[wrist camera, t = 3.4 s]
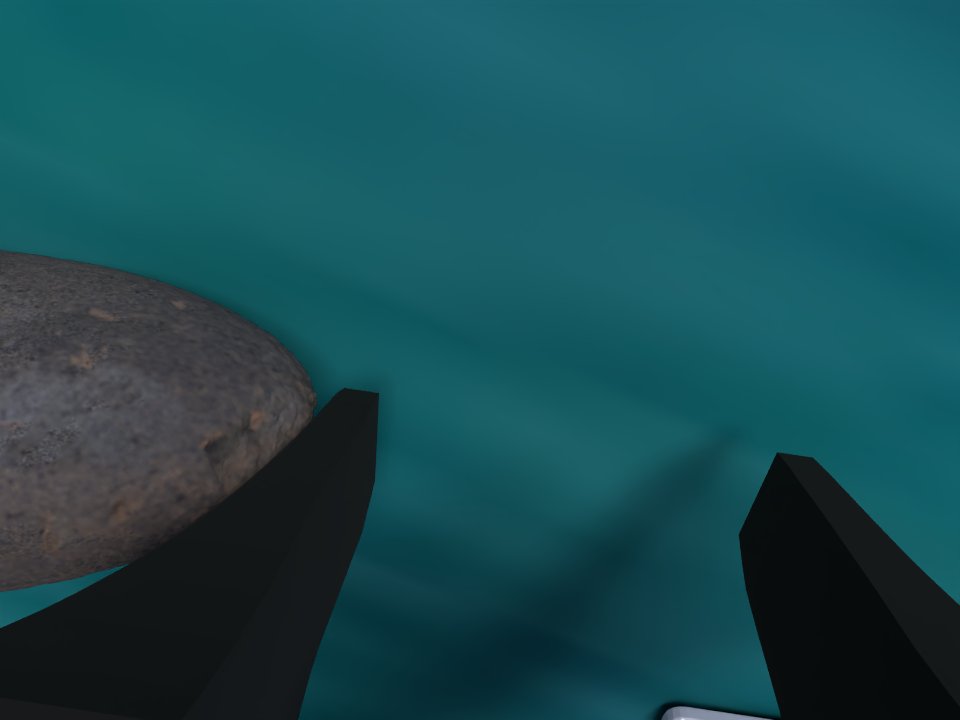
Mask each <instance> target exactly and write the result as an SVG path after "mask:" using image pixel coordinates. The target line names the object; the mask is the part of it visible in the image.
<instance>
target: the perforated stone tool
mask: <svg viewBox="0 0 960 720" xmlns="http://www.w3.org/2000/svg"><path fill="white" fill-rule="evenodd" d="M316 406H317V399H316V393H315V392H314V391H313V387H312V384H311V382H310V378H309V376H308V374H307V372H306V370H305V369H304V368H303V366H302V365H301V363H300V362H299V361H297V359H296V357H295V356H294V355H293V354H292V353H291V352H290V351H289V350H288V349H286V348H285V347H284V346H283V345H282V344H281V343H280V342H279V341H278V340H277V339H276V338H275V337H274V336H272V335H271V334H270V333H268V332H266V331H264V330H262V329H260V328H259V327H258V326H256V325H255V324H253V323H252V322H250V321H248V320H246V319H244V318H242V317H241V316H239V315H238V314H236V313H235V312H233V311H231V310H230V309H227V308H225V307H223V306H221V305H219V304H217V303H214V302H212V301H210V300H208V299H205V298H202V297H200V296H198V295H196V294H193V293H191V292H188V291H186V290H184V289H181V288H177V287H173V286H171V285H169V284H166V283H161V282H159V281H157V280H153V279H149V278H145V277H142V276H139V275H135V274H132V273H128V272H125V271H121V270H117V269H112V268H108V267H104V266H100V265H94V264H88V263H83V262H77V261H70V260H63V259H56V258H52V257H47V256H40V255H33V254H26V253H18V252H9V251H1V250H0V592H4V591H12V590H19V589H25V588H29V587H33V586H37V585H42V584H47V583H48V584H51V583H56V582H61V581H65V580H72V579H75V578H79V577H83V576H85V575H88V574H92V573H95V572H98V571H105V570H109V569H112V568H115V567H118V566H123V565H126V564H129V563H132V562H133V561H135V560H137V559H138V558H140V557H142V556H143V555H145V554H147V553H148V552H150V551H151V550H153V549H154V548H156V547H158V546H159V545H161V544H162V543H164V542H165V541H167V540H168V539H170V538H171V537H173V536H175V535H176V534H178V533H179V532H181V531H182V530H184V529H185V528H186V527H188V526H189V525H191V524H192V523H194V522H195V521H196V520H198V519H199V518H201V517H202V516H203V515H205V514H206V513H207V512H209V511H210V510H211V509H213V508H214V507H216V506H217V505H218V504H219V503H221V502H222V501H223V500H225V499H226V498H227V497H228V496H230V495H231V494H232V493H233V492H235V491H236V490H237V489H238V488H239V487H240V486H242V485H243V484H244V483H245V482H246V481H248V480H249V479H250V478H251V477H252V476H253V475H255V474H256V473H257V472H258V471H259V470H261V469H262V468H263V467H264V466H265V465H266V464H267V463H269V462H270V461H271V460H272V459H273V458H274V457H275V456H276V455H277V454H278V453H279V452H280V451H281V450H282V449H283V448H284V447H286V446H287V445H288V444H289V443H290V442H291V441H292V440H293V439H294V438H295V437H296V436H297V435H298V434H299V433H300V432H301V431H302V430H303V429H304V428H305V427H306V426H307V425H308V424H309V423H310V422H311V421H312V418H313V412H314V408H316Z"/></svg>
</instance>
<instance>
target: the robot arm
mask: <svg viewBox="0 0 960 720" xmlns="http://www.w3.org/2000/svg"><path fill="white" fill-rule="evenodd" d="M378 402H379V393H374V392H367V391H360V390H353V389H347V388H344V389H342V390H341V391H339V392H338V393H337V394H336V395H335V396H334V397H333V398H332V399H331V400H330V402H329V403H328V404H327V405H326V406H325V407H324V408H323V409H322V410H321V411H320V412H319V414H318V415H317V416H316V417H315V418H314V419H313V420H312V421H311V422H310V423H309V424H308V425H307V426H306V427H305V428H304V429H303V430H302V431H301V432H300V433H299V434H298V435H297V436H296V437H295V438H294V439H293V440H292V441H291V442H290V443H289V444H288V445H287V446H286V447H284V448H283V449H282V450H281V451H280V452H279V453H278V454H277V455H276V456H275V457H274V458H273V459H272V460H271V461H270V462H269V463H267V464H266V465H265V466H264V467H263V468H262V469H261V470H259V471H258V472H257V473H256V474H255V475H253V476H252V477H251V478H250V479H249V480H248V481H246V482H245V483H244V484H243V485H242V486H240V487H239V488H238V489H237V490H236V491H235V492H233V493H232V494H231V495H230V496H228V497H227V498H226V499H225V500H223V501H222V502H221V503H219V504H218V505H217V506H216V507H214V508H213V509H211V510H210V511H209V512H207V513H206V514H205V515H203V516H202V517H201V518H199V519H198V520H196V521H195V522H194V523H192V524H191V525H189V526H188V527H186V528H185V529H184V530H182V531H181V532H179V533H178V534H176V535H175V536H173V537H171V538H170V539H168V540H167V541H165V542H164V543H162V544H161V545H159V546H158V547H156V548H154V549H153V550H151V551H150V552H148V553H147V554H145V555H143V556H142V557H140V558H138V559H137V560H135V561H133V562H132V563H130V564H128V565H127V566H125V567H123V568H122V569H120V570H118V571H116V572H114V573H113V574H111V575H109V576H107V577H105V578H103V579H101V580H100V581H98V582H96V583H94V584H92V585H90V586H88V587H86V588H85V589H83V590H81V591H79V592H77V593H75V594H73V595H71V596H69V597H67V598H65V599H63V600H61V601H59V602H57V603H55V604H53V605H51V606H49V607H47V608H45V609H43V610H41V611H38V612H36V613H34V614H32V615H29V616H27V617H25V618H23V619H20V620H18V621H16V622H14V623H11V624H9V625H7V626H4V627H2V628H0V720H298V717H299V713H300V709H301V706H302V702H303V698H304V695H305V691H306V687H307V684H308V680H309V676H310V673H311V669H312V666H313V663H314V660H315V657H316V654H317V651H318V648H319V645H320V642H321V640H322V637H323V634H324V632H325V629H326V626H327V624H328V621H329V618H330V616H331V613H332V611H333V608H334V605H335V603H336V600H337V597H338V595H339V592H340V589H341V587H342V584H343V581H344V579H345V576H346V574H347V571H348V568H349V566H350V563H351V560H352V558H353V555H354V552H355V550H356V547H357V544H358V541H359V539H360V536H361V533H362V530H363V526H364V522H365V518H366V514H367V511H368V506H369V502H370V498H371V494H372V490H373V486H374V482H375V467H376V445H377V424H378ZM739 540H740V549H741V557H742V566H743V572H744V579H745V586H746V591H747V595H748V599H749V603H750V606H751V610H752V614H753V617H754V621H755V625H756V629H757V632H758V636H759V639H760V643H761V646H762V650H763V654H764V657H765V661H766V664H767V668H768V671H769V675H770V678H771V682H772V686H773V689H774V693H775V696H776V700H777V703H778V707H779V710H780V714H781V718H782V720H960V605H959V604H958V603H956V602H955V601H954V600H953V599H952V598H951V597H950V596H949V595H948V594H947V593H946V592H945V591H944V590H943V589H941V588H940V587H939V586H938V585H937V584H936V583H935V582H934V581H933V580H932V579H931V578H930V577H929V576H928V575H927V574H926V573H925V572H924V571H923V570H922V569H921V568H920V567H918V566H917V565H916V564H915V563H914V562H913V561H912V560H911V559H910V558H909V557H908V556H907V555H906V554H905V553H904V552H903V551H902V550H901V549H900V548H899V547H898V545H897V544H896V543H895V542H894V541H893V540H892V539H891V538H890V537H889V536H888V535H887V534H886V533H885V532H884V531H883V530H882V529H881V528H880V527H879V526H878V525H877V524H876V523H875V522H874V521H873V520H872V518H871V517H870V516H869V515H868V514H867V513H866V512H865V511H864V510H863V509H862V508H861V507H860V506H859V505H858V504H857V503H856V501H855V500H854V499H853V498H852V497H851V496H850V495H849V494H848V493H847V492H846V491H845V490H844V489H843V488H842V487H841V486H840V485H839V483H838V482H837V481H836V480H835V479H834V478H833V477H832V476H831V475H830V474H829V473H828V472H827V471H826V470H825V469H824V468H823V467H822V466H821V465H820V464H819V463H818V462H817V461H816V460H815V459H814V458H812V457H805V456H798V455H792V454H785V453H778V452H777V454H776V456H775V458H774V460H773V462H772V464H771V467H770V469H769V471H768V473H767V475H766V477H765V479H764V482H763V484H762V486H761V488H760V490H759V492H758V494H757V497H756V499H755V501H754V503H753V505H752V507H751V509H750V512H749V514H748V516H747V518H746V520H745V522H744V524H743V527H742V529H741V531H740V533H739ZM661 720H773V719H766V718H759V717H753V716H746V715H739V714H733V713H726V712H719V711H712V710H706V709H699V708H692V707H686V706H678V707H673V708H671V709H669V710H667V711H666V712H665V714H664V715H663V717H662V719H661Z"/></svg>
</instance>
